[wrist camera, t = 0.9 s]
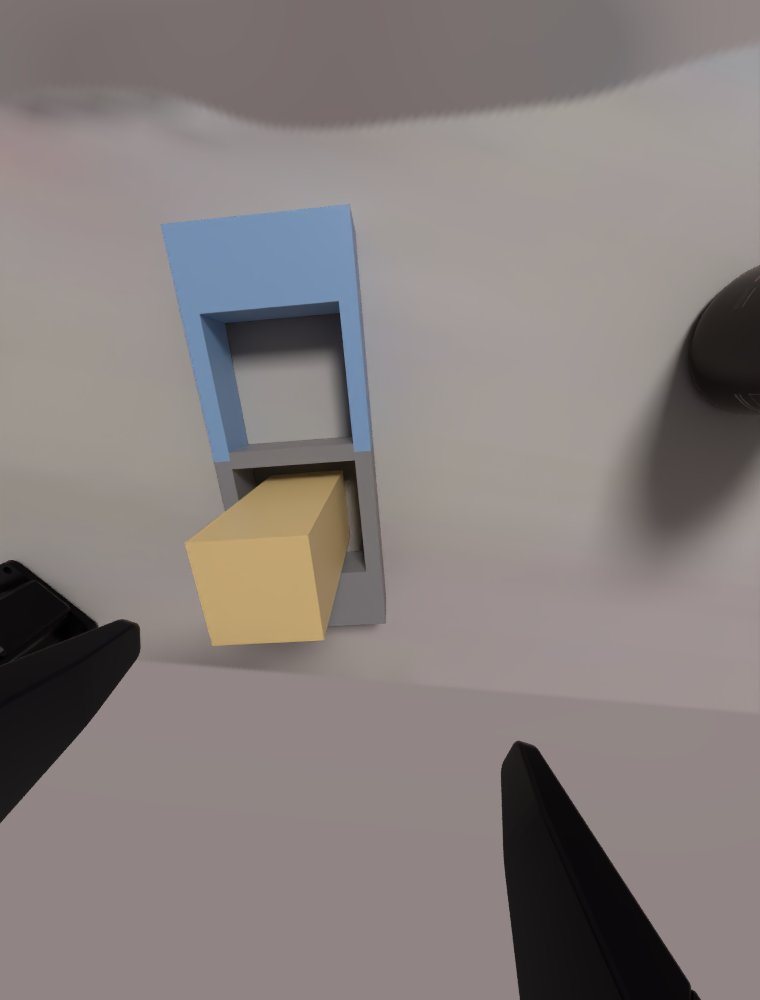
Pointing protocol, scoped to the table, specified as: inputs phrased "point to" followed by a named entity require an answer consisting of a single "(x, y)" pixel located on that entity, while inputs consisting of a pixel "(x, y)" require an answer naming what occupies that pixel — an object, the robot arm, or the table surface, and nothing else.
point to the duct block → (271, 295)
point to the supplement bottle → (730, 347)
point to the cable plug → (273, 561)
